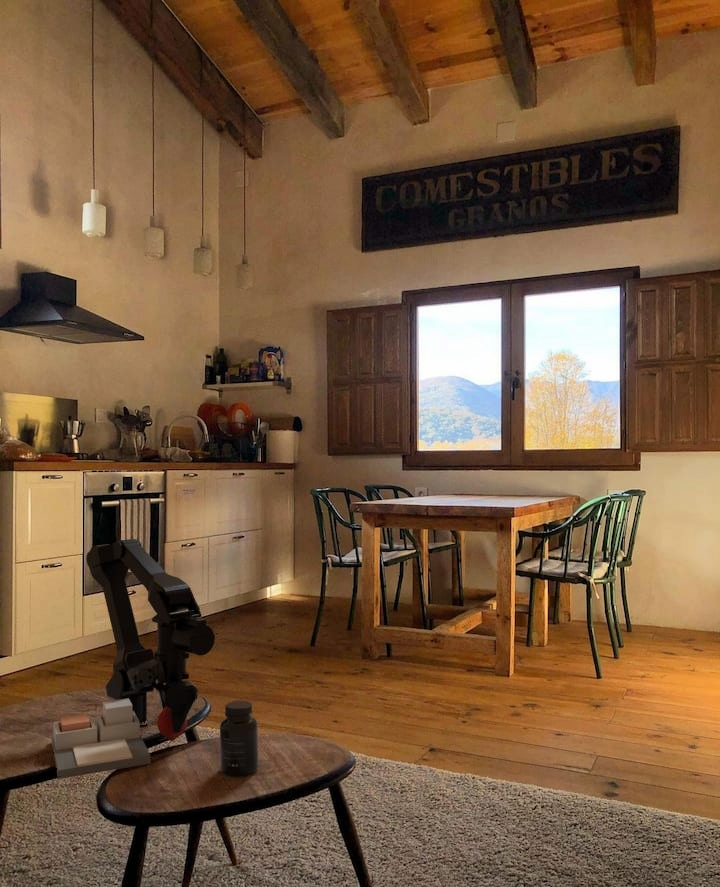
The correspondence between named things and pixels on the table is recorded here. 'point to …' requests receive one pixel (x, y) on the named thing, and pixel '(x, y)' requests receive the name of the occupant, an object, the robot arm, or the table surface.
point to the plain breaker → (117, 711)
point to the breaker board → (98, 748)
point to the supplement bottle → (238, 740)
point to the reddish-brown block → (74, 722)
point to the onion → (168, 725)
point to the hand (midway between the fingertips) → (171, 725)
